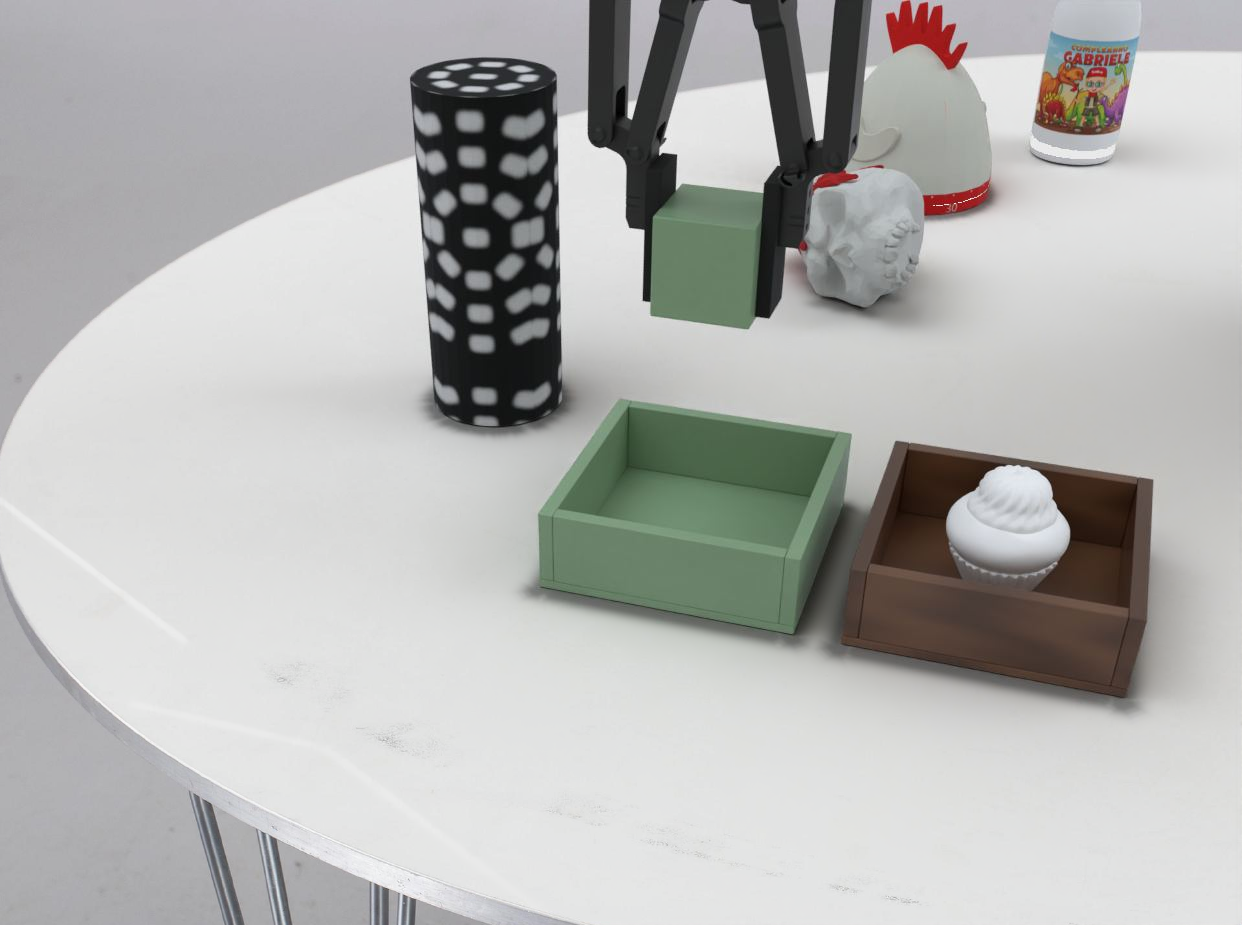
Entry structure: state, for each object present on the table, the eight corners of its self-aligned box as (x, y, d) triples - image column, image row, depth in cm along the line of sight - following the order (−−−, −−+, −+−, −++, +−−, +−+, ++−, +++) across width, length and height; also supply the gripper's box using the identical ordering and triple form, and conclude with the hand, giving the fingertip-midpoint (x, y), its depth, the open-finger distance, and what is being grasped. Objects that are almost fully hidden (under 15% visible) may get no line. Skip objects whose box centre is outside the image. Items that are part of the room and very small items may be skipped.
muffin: (1081, 591, 74) (1110, 472, 70) (1007, 635, 71) (1033, 514, 67) (985, 541, 78) (1007, 426, 74) (911, 582, 75) (929, 464, 71)
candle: (890, 328, 100) (727, 294, 110) (979, 282, 107) (818, 253, 116) (892, 198, 96) (721, 174, 105) (985, 158, 102) (816, 139, 111)
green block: (772, 292, 73) (780, 194, 70) (748, 330, 69) (756, 228, 66) (677, 279, 74) (681, 182, 71) (649, 316, 70) (652, 216, 67)
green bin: (843, 503, 82) (852, 433, 80) (793, 635, 72) (800, 559, 69) (618, 466, 86) (619, 397, 83) (539, 586, 75) (537, 513, 73)
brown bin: (1134, 550, 78) (1153, 478, 75) (1125, 698, 68) (1147, 620, 65) (885, 509, 82) (895, 439, 79) (840, 643, 71) (850, 568, 69)
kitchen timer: (900, 151, 133) (922, -23, 124) (1020, 190, 125) (1053, 6, 116) (794, 183, 126) (809, 1, 117) (914, 227, 118) (940, 34, 109)
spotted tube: (421, 422, 90) (393, 94, 78) (449, 365, 97) (428, 55, 85) (551, 430, 89) (543, 100, 77) (571, 372, 96) (567, 59, 84)
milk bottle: (1014, 143, 135) (1054, -92, 123) (1090, 138, 136) (1137, -95, 125) (1049, 169, 129) (1095, -75, 117) (1128, 164, 130) (1182, -78, 118)
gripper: (982, -252, 58) (905, 295, 72) (563, -265, 63) (567, 250, 76) (958, -235, 52) (880, 356, 66) (499, -251, 57) (516, 304, 71)
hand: (712, 298), depth 71 cm, fingers closed on green block, 5 cm apart
